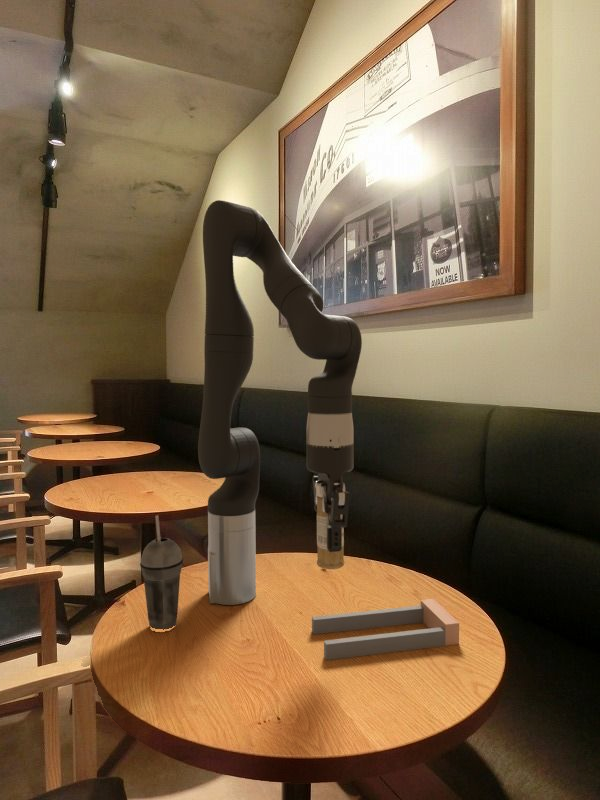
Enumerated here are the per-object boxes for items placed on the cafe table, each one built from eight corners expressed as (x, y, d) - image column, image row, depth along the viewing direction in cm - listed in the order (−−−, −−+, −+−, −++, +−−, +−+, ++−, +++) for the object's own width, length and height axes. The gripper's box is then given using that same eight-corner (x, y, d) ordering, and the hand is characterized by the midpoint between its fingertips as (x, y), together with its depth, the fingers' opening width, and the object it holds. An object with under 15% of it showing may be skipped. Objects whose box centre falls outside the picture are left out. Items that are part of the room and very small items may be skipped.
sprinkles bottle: (350, 566, 86) (350, 484, 85) (327, 572, 84) (327, 487, 83) (332, 558, 90) (332, 479, 89) (310, 563, 87) (310, 482, 87)
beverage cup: (192, 620, 96) (190, 510, 95) (169, 639, 89) (167, 521, 88) (157, 614, 98) (155, 506, 97) (132, 632, 91) (129, 517, 90)
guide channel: (326, 660, 82) (326, 638, 82) (311, 631, 92) (311, 611, 91) (458, 643, 87) (459, 623, 87) (432, 617, 96) (433, 598, 96)
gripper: (297, 436, 92) (298, 534, 93) (318, 448, 78) (318, 563, 79) (339, 434, 93) (339, 531, 94) (367, 446, 79) (366, 559, 80)
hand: (330, 545), depth 87 cm, fingers closed on sprinkles bottle, 4 cm apart
